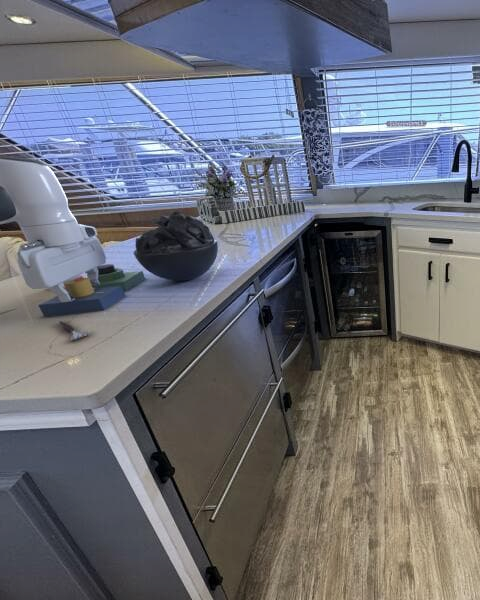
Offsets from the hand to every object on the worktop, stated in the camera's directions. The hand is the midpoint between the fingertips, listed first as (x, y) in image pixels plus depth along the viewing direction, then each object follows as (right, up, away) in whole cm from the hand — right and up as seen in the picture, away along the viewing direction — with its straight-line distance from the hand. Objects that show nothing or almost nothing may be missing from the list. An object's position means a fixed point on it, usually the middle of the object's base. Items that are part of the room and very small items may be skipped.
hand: (82, 293), depth 77 cm
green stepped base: (-5, +2, +14) cm, 15 cm away
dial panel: (0, -3, +1) cm, 3 cm away
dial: (0, 0, 0) cm, 0 cm away
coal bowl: (+14, +4, +18) cm, 23 cm away
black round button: (-5, +6, +12) cm, 14 cm away
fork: (+10, -8, -12) cm, 17 cm away
